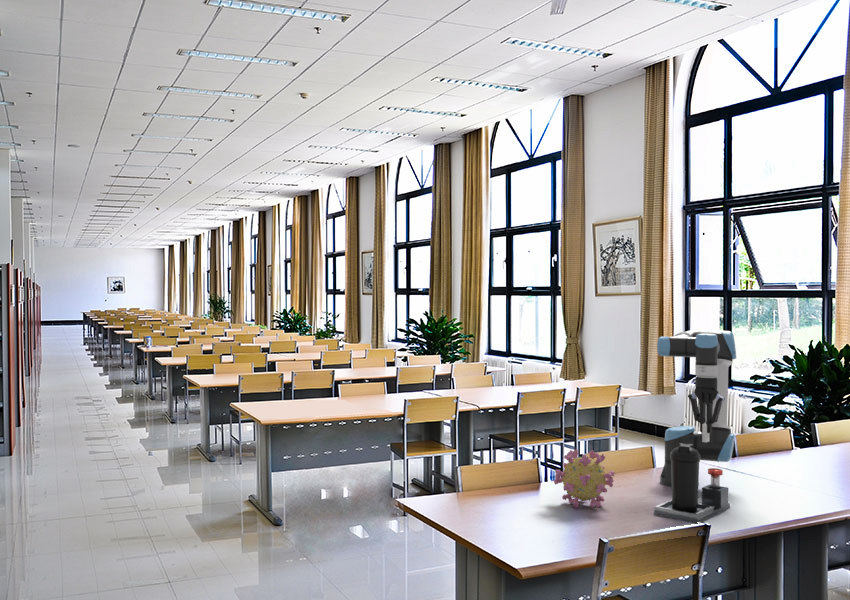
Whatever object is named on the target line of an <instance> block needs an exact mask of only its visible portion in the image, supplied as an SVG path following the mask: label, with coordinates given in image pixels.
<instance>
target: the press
mask: <svg viewBox="0 0 850 600" xmlns="http://www.w3.org/2000/svg"><path fill="white" fill-rule="evenodd" d="M730 508H731V503H729V487H726V486H721V485H720V489H719V490H718V489H712V488H711V483H710V484H707V485H705V486H703V487H701V497H699V496H698V506H697V512H695V513H689V512H684V511H679V510H674V509H672V498H671V499H669V500H667V501H663V502H662V503H659V504H658V505H655V506H654V511H653V513H654V514H653V515H655V516H659V517H664V518H669V519H674V520H680V521H683V522H687V523H688V522H689V523H693V524H698V523H697V522H701V523H702V522H705V521H706V520H708V519H710V518H713V517H714V516H716V515H718V514H719V513H722V512H724V511H726V510H727V509H730Z"/></svg>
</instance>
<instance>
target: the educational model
mask: <svg viewBox="0 0 850 600" xmlns="http://www.w3.org/2000/svg"><path fill="white" fill-rule="evenodd" d="M586 455H587V454H584V453H582V456H579V449H578V448H577V449H575V450H572V449H570V451H568V452H567V453H566V454H565V455H564V456H563V458H564V459H566V461H568V462H564V463H563V464H562V465H563V471H561V470H560V469H555V470H554V472H555V476H554V478H555V479H553V480H552V481H553V483H554V484H555V485H559V484H561V483H562V484H563V491H564V492H565V491H566V494H563V495H562V496H561V498H562V500H564V501H567V499H568V503H569V504H573V506H572V507H574V509H578V508H579V506H580V504H579V500H580V502H587V501H589V502H590V504H589V508H592V509H594V506H595V507H596V508H599V507H600V506H601V505H602V503H604V502H605V498H604V496H603V495H601V493H608V489H607V488H606V485H607V486H609V488H613V486H614V484H613V483H614V481H615V480H614V479H613V478H614V477H615V474H616V472H615V471H613V470H610V471H609V472H608V473H606V472H605V470H604V469H605V466H602V465H601V463H602V462H603V461H604V460H605V459H606V456H605V453H603V454H599V453H598V452H596V453H595V451H594V450H593V449H591V450H590V451H588V455H589V457H588V455H587V456H586Z"/></svg>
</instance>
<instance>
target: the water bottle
mask: <svg viewBox="0 0 850 600" xmlns="http://www.w3.org/2000/svg"><path fill="white" fill-rule="evenodd" d="M679 444H680V446H679V447H677V448H674V449H673V450H672V452H671V453H670V459H671V477H672V486H671V499H672V509H674V510H679V511H684V512H689V513H695V512H697V506H698V497H699V485H698V481H699V479H700V478H699V476H700V462H701V460H700V454H699V452H698V451H697V450H695V449H694V448H691V447H690V446H692V445H693V444H685V443H679Z"/></svg>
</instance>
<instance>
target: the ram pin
mask: <svg viewBox="0 0 850 600" xmlns="http://www.w3.org/2000/svg"><path fill="white" fill-rule="evenodd" d="M707 474H708V475H710V485H711V488H712V489H718V490H719V489H720V486H721V485H720V484H721V483H720V476H723V475H724V473H723V469H721V468H714V467H712V468H708V469H707Z"/></svg>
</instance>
